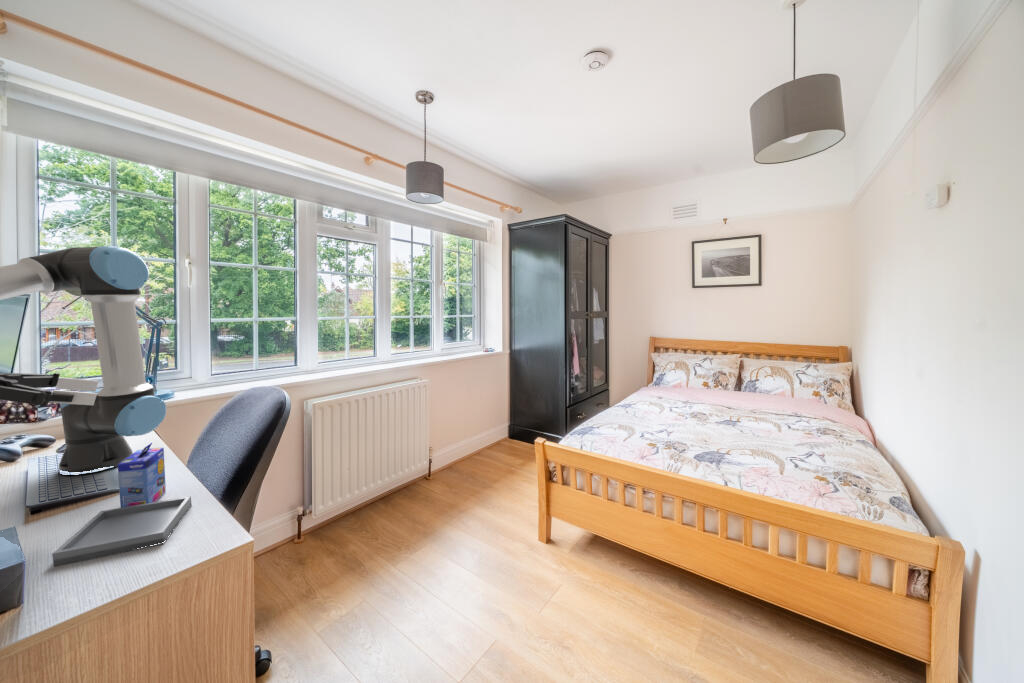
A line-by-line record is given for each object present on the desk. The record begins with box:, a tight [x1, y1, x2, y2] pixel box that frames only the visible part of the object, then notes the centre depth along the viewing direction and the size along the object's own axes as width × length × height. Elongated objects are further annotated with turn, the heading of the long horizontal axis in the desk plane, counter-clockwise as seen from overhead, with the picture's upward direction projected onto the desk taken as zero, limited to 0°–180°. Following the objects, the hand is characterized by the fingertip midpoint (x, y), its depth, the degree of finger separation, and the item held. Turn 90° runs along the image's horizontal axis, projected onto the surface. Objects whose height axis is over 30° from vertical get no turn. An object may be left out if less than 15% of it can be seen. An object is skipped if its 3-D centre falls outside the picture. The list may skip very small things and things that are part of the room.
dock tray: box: [51, 495, 192, 567], centre depth 81 cm, size 16×16×2 cm
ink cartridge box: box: [117, 442, 167, 508], centre depth 93 cm, size 10×6×14 cm, turn 24°
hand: (96, 392), depth 90 cm, fingers open, 13 cm apart
